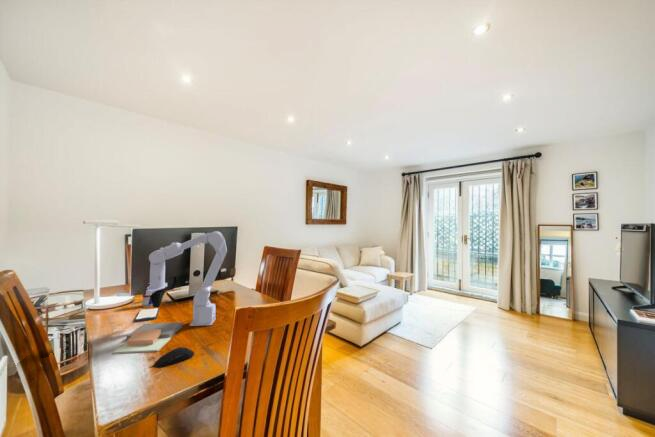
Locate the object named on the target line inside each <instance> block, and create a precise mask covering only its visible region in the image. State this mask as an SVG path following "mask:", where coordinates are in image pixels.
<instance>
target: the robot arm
mask: <svg viewBox="0 0 655 437" xmlns="http://www.w3.org/2000/svg"><path fill="white" fill-rule="evenodd" d="M208 243H209V244H210V246H212V247H213V248H214V251H215V255H214V256H213V257H214V258H213V260H212V262H211V264H210V266H209V268H208V271H207V273H206V275H205V277H204V280H203V282H202V284H201V286H200V288H198V290H196V293H195V294H194V296H193V298H192V299H193V301H192V302H193V304H192V305H193V308H192V312H193V314H192V322H191V323H189V327H198V326H199V327H200V326H203V327H204V326H212V324H213V323H214V322H215V321H216V319H217V318H216V312H217V308H216V306H217V305H216V303H212V302H211V300H210V296H211V289H212V287H213V285H214V283H215V280H216V278H217V276H218V273H219V271H220V269H221V266H222V264H223V263H224V261H225V258H226V255H227V253H228V248H227V244H226V238H225V236H224V235H223V234H222V232H220V231H218V230H216V231H215V230H214V231H212V232H208V233H204V234H200V235H199V236H195V237H194V238H190V239H189V240H187V241H185V242H182V243H180V242H171V243H170V245H166V246H164V247H159V249H157V250H154V251H153V252H151V253H150V254H149V256H148V261H149V262H150V267H149V284H150V286H148V287H147V289H148V290H147V291H146V295H149V297H150V298H151V300H152V304H153V306H152V307H153V308H159V307H160V306H161V304H162V300H163V297H164V295H165V293H166V292H167V290H166V288H167V287H168V282H166V260H170V259H172V258H175V257H177V256H180V255H182V254H183V253H184V250H186V249H189V248H192V247H194V246H197V245H200V244H208Z"/></svg>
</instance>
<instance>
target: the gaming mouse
mask: <svg viewBox="0 0 655 437" xmlns="http://www.w3.org/2000/svg"><path fill="white" fill-rule="evenodd" d="M194 355H195V352H194V351H193V350H192V349H190V348H187V347H184V346H183V347H181V346H180V347H176V348H174V349H171V350H170V351H168V352H165V354H163V355H162V356H160V357H159V358H157V360H156V361H155V362H154V365H151V366H150V367H148V369H150V368H153V367H154V368H158V369H159V368H165V367H169V366H172V365H176V364H178V363H179V364H180V363H182V362H186V361H187V360H191V359H192V358H193V356H194Z"/></svg>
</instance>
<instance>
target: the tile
mask: <svg viewBox="0 0 655 437" xmlns="http://www.w3.org/2000/svg"><path fill="white" fill-rule="evenodd" d="M135 330H136V329H135ZM160 335H161V329H160V330H136V332H135V333H134V334H133V335H132V336H131V337H130V338H129V339H128V340H127V339H126V340H127V341H126V342H127V345H148V344H154V343H155V341H156V340H157V339H158V337H159V336H160Z"/></svg>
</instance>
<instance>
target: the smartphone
mask: <svg viewBox="0 0 655 437" xmlns="http://www.w3.org/2000/svg"><path fill="white" fill-rule="evenodd" d="M138 311H139V312H138V313H137V315H136V317H135V318H134V322H135V323H141V322H148V321H154V320H157V318H158V314H159V312H160V308H159V307H155V308H154V307H153V308H147V309H140V310H138Z"/></svg>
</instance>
